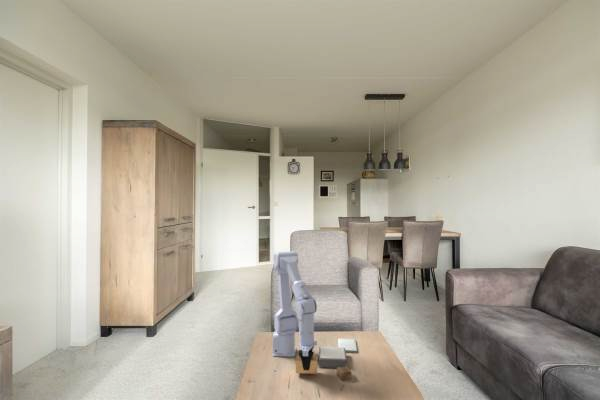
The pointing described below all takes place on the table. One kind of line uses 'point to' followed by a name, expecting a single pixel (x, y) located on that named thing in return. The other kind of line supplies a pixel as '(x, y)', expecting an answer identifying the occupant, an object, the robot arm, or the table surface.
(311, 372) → the block
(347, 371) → the walnut block
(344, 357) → the stand
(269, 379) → the table surface
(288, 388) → the table surface
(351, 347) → the hard drive
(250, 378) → the table surface
